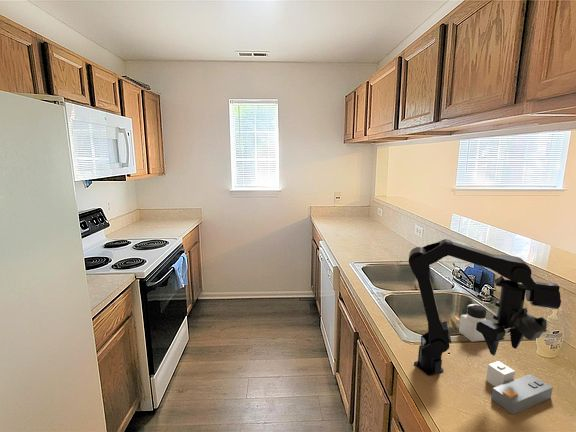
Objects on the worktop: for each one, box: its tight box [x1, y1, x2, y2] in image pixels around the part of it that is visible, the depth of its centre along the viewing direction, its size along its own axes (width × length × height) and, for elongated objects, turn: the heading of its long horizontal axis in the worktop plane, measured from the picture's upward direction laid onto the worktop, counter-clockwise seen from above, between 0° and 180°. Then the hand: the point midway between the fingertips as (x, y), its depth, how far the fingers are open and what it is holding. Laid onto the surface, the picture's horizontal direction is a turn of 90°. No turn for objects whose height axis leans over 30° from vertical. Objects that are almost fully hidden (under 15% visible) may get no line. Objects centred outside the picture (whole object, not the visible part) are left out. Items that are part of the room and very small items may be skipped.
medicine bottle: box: [458, 303, 487, 343], centre depth 123 cm, size 7×7×12 cm
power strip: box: [491, 373, 553, 415], centre depth 92 cm, size 6×16×4 cm, turn 112°
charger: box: [485, 360, 516, 387], centre depth 97 cm, size 8×4×6 cm, turn 22°
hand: (503, 351), depth 97 cm, fingers open, 9 cm apart
